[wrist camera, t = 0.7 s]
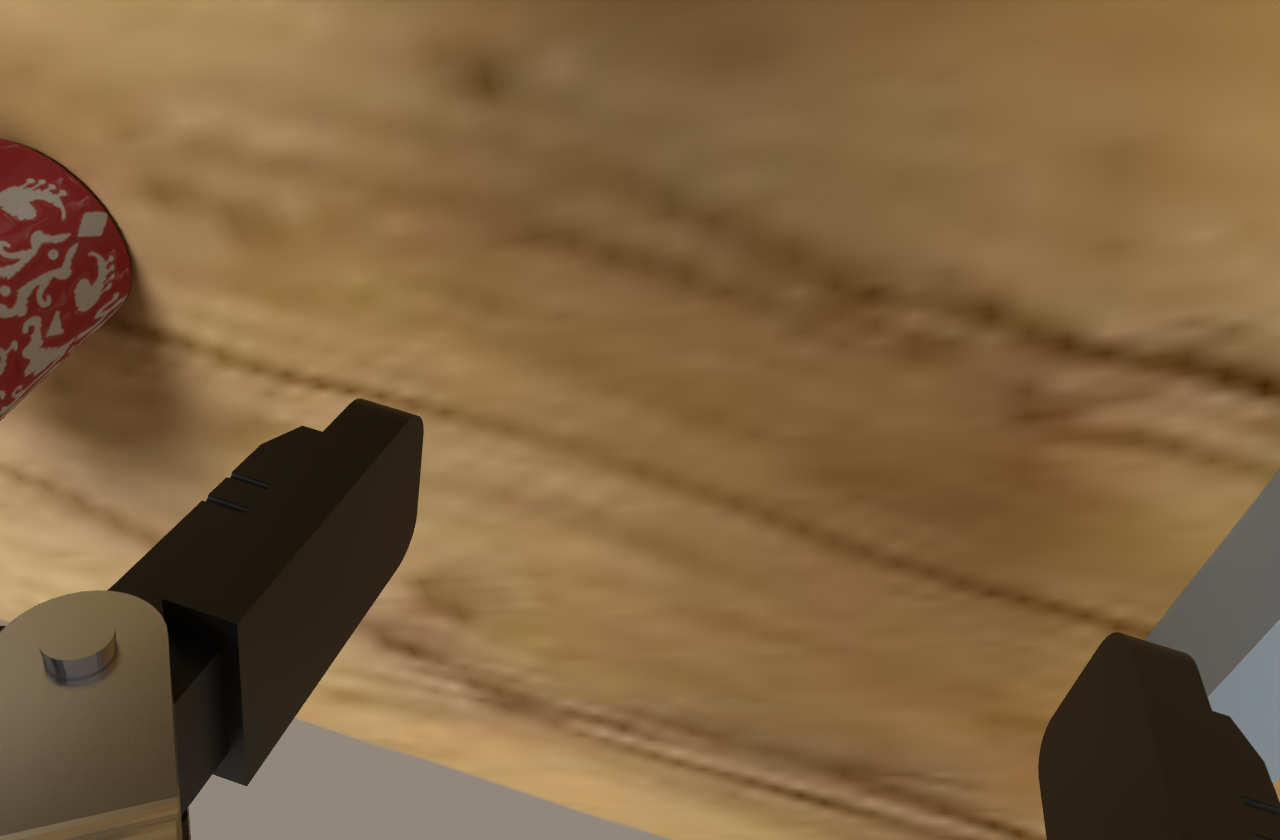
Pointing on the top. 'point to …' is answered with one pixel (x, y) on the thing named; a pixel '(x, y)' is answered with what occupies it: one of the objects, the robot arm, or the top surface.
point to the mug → (51, 269)
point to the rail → (1238, 626)
